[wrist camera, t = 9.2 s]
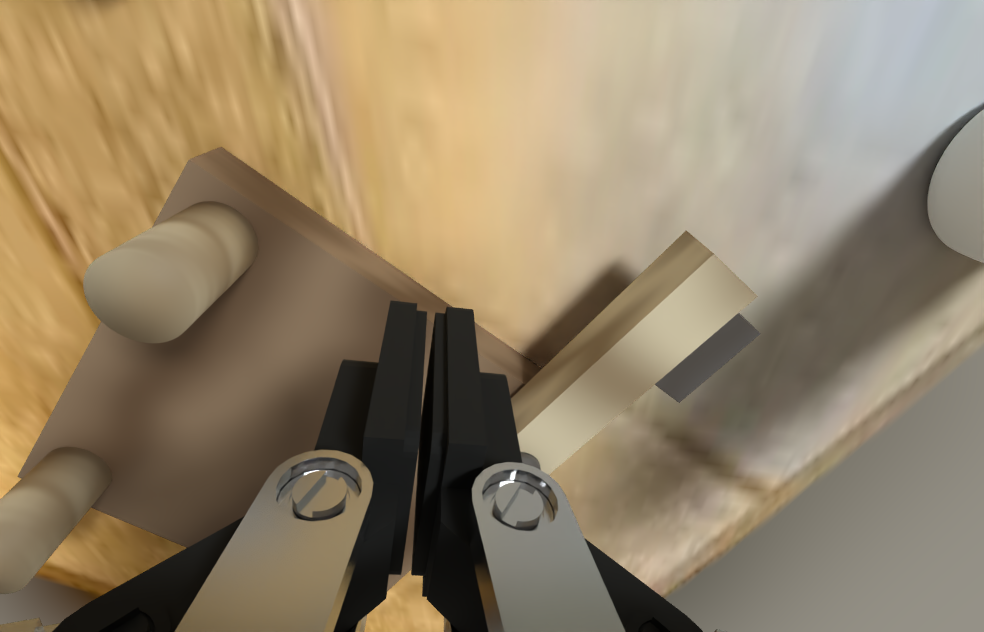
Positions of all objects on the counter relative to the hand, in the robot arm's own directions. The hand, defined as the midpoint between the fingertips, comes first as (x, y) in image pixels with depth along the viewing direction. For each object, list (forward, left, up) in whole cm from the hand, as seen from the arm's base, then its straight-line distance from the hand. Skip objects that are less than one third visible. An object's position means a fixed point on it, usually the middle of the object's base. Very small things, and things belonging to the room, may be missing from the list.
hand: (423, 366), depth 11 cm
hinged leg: (+8, 0, -9) cm, 12 cm away
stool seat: (+2, -8, -12) cm, 14 cm away
